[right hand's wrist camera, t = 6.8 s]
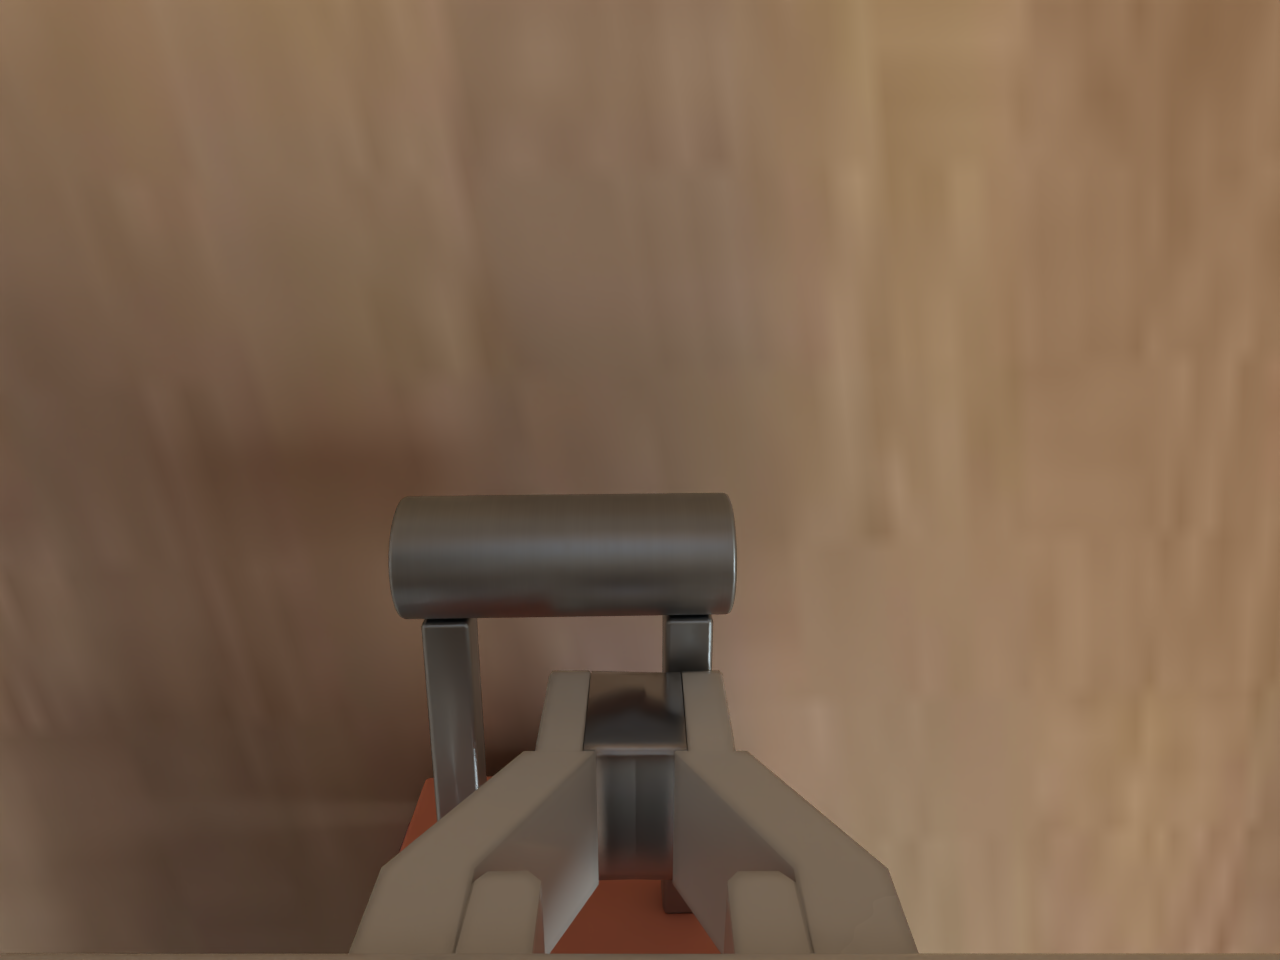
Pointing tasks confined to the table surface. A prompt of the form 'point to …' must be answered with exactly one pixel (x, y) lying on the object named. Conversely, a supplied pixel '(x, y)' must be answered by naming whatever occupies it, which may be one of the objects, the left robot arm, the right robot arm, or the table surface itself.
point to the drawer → (559, 587)
